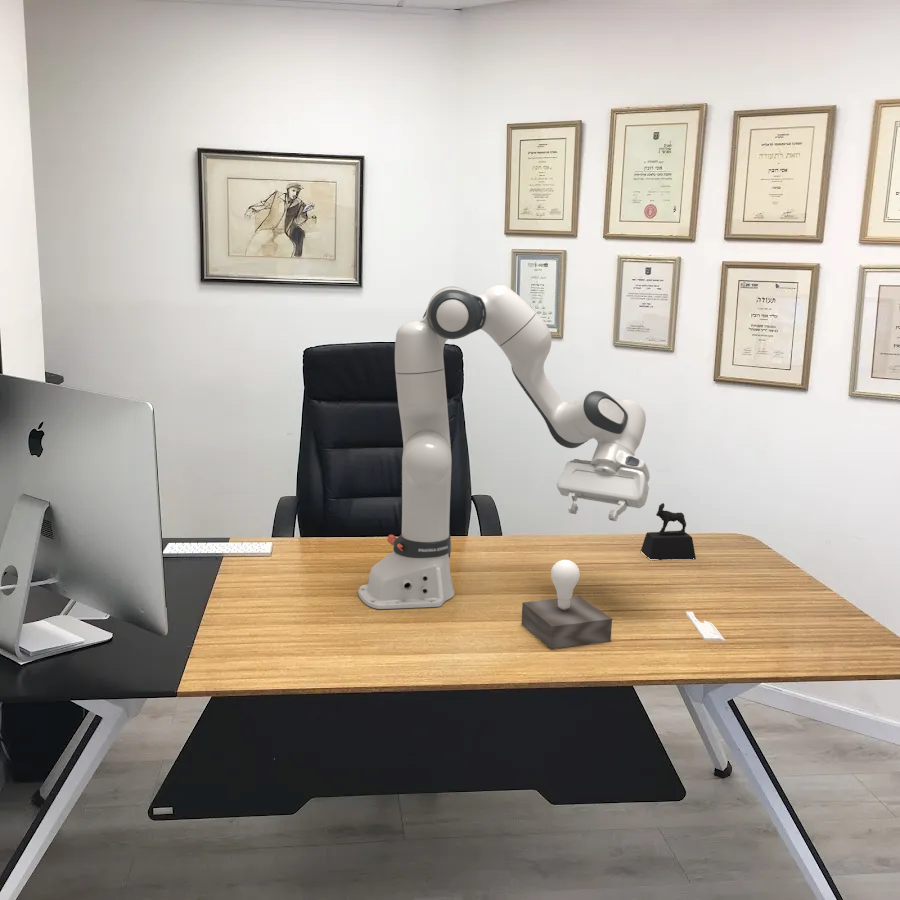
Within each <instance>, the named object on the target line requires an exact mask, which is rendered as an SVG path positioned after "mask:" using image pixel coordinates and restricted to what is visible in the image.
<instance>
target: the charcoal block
mask: <svg viewBox="0 0 900 900" xmlns="http://www.w3.org/2000/svg"><path fill="white" fill-rule="evenodd" d="M612 625H613V617H611V616H609V615H608V614H606V613H605V612H603V611H602V610H601V609H599V608H598V607H596V606H595V605H593V604H592V603H591V602H589V601H588V600H586V599H585V598H584V597H582V596H581V595H572V598H571V599H570V607H569V608H568V609H566V610H562V609H561V608H559V607H558V598H557V597H556V598H549V599H540V600H532V601H522V606H521V626H523V627H524V628H525V629H527V631H529V632H530V633H531V634H532V635H533V636H535V637H536V638H537V639H538V640H539V639H540V640H541V641H540V640H539V641H540V642H542V644H544V645H545V644H546V645H547V646H548V648H549V650H556V649H555V648H558V649H564V648H563V647H566V648H571V646H573V647H579V645H580V646H585V645H592V644H593V643H594V644H600V643H608V642H611V641H612V627H613V626H612ZM546 645H545V646H546ZM547 646H546V647H547Z"/></svg>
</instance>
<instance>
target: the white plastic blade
mask: <svg viewBox="0 0 900 900" xmlns="http://www.w3.org/2000/svg"><path fill="white" fill-rule="evenodd" d="M685 615H686V616H687V618H688V620H689V621H690V622H691V623H692V625H693V626H694V628H695V629H696V631H697V632H698V633H699V635H700V636H701V638H702V639H703V640H704V641H709V642H711V641H712V642H713V641H716V642H718V641H720V642H721V641H722V642H724V641H726V639H725V638H724V636H723V635H722V634H721V633H720V631H719V629H717V627H716V626H715V625H714V624H713V622H710V621H708V620H707V621H706V620H703V622H701V621H700V620H699V619H698V618H696V615H695V613H694V612H693V611H685Z"/></svg>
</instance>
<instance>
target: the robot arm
mask: <svg viewBox="0 0 900 900" xmlns="http://www.w3.org/2000/svg"><path fill="white" fill-rule="evenodd" d="M479 330H481V331H484V332H485V333H486V334H487V335H488V336H489V337H490V338H492V340H493V341H494V342H495V343H496V344H497V346H499V348H500V349H501V351H502V352H503V354H504V355H505V356H506V357H507V359H508V361H509V363H510V365H511V367H510V368H511V372H512V373H513V376H514V377H515V380H516V381H517V382H518V384H519V385H520V387H521V388H522V389H523V391H524V393H525V394H526V396H527V397H528V398H529V400H530V401H531V402H532V405H533V406H534V407H535V408H536V410H537V411H538V412H539V414H540V415H541V417H542V418H543V420H544V422H545V424H546V426H547V428H548V430H549V433H550V435H551V437H552V438H553V439H554V441H555V442H556V443H557V444H559V445H560V446H562V447H564V448H567V449H575V448H579V447H580V446H582V445H584V444H585V443H587V442H588V441H590V440H593V439H594V440H595V441H597V444H596V449H595V450H594V453H593V455H592V459H591V460H585V459H584V460H583V459H577V458H574V459H572V460H570V461H567V462H566V464H565V465H564V468H563V471H562V473H561V474H560V476H559V478H558V480H557V482H556V487H557V490H558V492H559V494H560V495H561V496H564V497H568V501H569V506H568V513H569V514H573V515H576V514H577V513H578V511H579V506H578V504H577V503H575V502H577V501H578V499H581V500H582V499H583V500H588V501H594V502H600V503H607V504H610V505H611V504H612V505H617V507H616V508H615V509H614V510H613V509H610V511H609V513H608V519H609V521H613V522H617V521H618V517H619V516H620V515H622V514H623V513H624V512H626V510H627V508H628V507H629V508H630V507H631V508H634V509H641V508H643V507H644V506H645V505H646V503H647V499H648V495H649V489H650V486H649V483H648V482H649V480H650V472H649V468H648V466H647V464H646V462H645V461H644V459H641V458H639V457H636V456H635V452H636V451H637V449H638V448H639V446H640V445H641V441H642V439H643V436H644V432H645V428H646V421H647V419H646V412H645V410H644V408H643V407H642V406H641V405H640V404H639V403H638V402H636V401H634V400H632V399H628V398H624V399H617V398H614V397H612V396H610V395H609V394H608V393H606V392H604V391H600V390H593V391H590V392H587V394H584V395H583V396H580V397H579V398H577V399H576V400H574V401H571V402H567V401H565V400H564V399H562V398H561V396H560V395H559V393H558V392H557V391H556V389H555V388H554V386H553V385H552V383H551V381H550V380H549V379H548V377H547V376H546V373H545V370H544V369H545V368H544V366H545V363H546V360H547V357H548V356H549V354H550V351H551V346H552V333H551V331H550V329H549V327H548V325H547V323H545V321H544V319H542V318H541V317H540V315H539V314H538V313H537V312H536V311H535V310H534V309H533V308H532V307H531V305H529V304H528V302H526V301H525V300H524V299H523V298H522V297H521V296H520V295H519V294H517V293H516V292H515V291H514V290H512V288H510V287H508V286H507V285H504V284H496V285H492V286H490V287H488V288H486V289H485V290H484V291H482V292H481V293H480V294H478V295H475V294H471V293H469V291H467V290H466V289H463V288H461V287H459V286H447V287H446V286H445V287H443V288H440V289H439V290H437V291H436V292H435V293H434V294H433V295H432V296H431V297H430V299H429V302H428V304H427V308H426V309H425V312H424V314H423V316H422V318H420V319H416V320H411V321H408V322H407V321H406V322H405V323H403V324H402V325H401V326H399V328H398V329H397V331H396V335H395V340H394V370H395V382H396V392H397V404H398V406H397V407H398V411H399V418H400V427H401V435H402V442H403V443H402V444H403V445H402V446H403V448H402V457H401V458H402V459H401V483H402V484H401V498H402V499H401V501H402V502H401V506H402V507H401V534H400V535H399V536H398V537H396V535H394V534H389V535H388V536H387V538H386V539H387V540H386V541H387V542H388V544H390V545H391V546H393V550H392V551H391V552H390V553H389V554H388V555H386V556H385V557H384V558H382V559H381V560H379V561H378V562H377V563H376V564H374V565H372V567H371V569H370V572H369V575H368V579H367V584H362V585H360V587H358V597H359V598H360V600H361V601H362V602H363V603H364V604H365V605H367V606H368V607H371V608H373V609H377V610H386V609H387V610H388V609H393V610H394V609H414V608H415V609H417V608H435V607H436V608H439V607H442V606H443V605H444V603H445V602H446V601H448V600H450V599H452V598H453V597H454V596H455V590H454V587H453V581H452V577H451V576H452V575H451V568H450V559H451V552H452V539H451V537H452V536H451V534H450V515H451V513H450V512H451V511H450V510H451V509H450V508H451V490H452V489H451V486H452V484H451V483H452V482H451V481H452V465H453V464H452V461H453V460H452V448H451V447H452V445H451V436H450V424H449V423H450V422H449V420H450V419H449V411H448V410H449V409H448V397H447V386H446V373H445V372H446V371H445V361H444V347H445V344H446V343H447V341H448V340H457V339H461V338H465V337H466V336H469V335H470V334H472V333H475V332H477V331H479Z"/></svg>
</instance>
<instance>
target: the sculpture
mask: <svg viewBox="0 0 900 900" xmlns="http://www.w3.org/2000/svg"><path fill="white" fill-rule="evenodd" d="M664 508H665V503H663V502H662V503H661V504H659V505H658V509H657V512H656V516H657V517H659V518H660V519H661V521H663V523H662V527H661V530H659V531H653V532H651V531H650V532H649V531H648V532H646V533H645V536H644V540H643V543H642V546H641V549H640V552H641V551H642V552H643V553H644V554H645V555H646V556H647V557H649V558H650V559H692V560H696V552H695V545H694V540H693V537H692V536H691V535H690V534H689V533H687V532H686V527H687V522H686V518H685V513H683V512H672V511H670V510H664ZM669 522H672V523H674V522H678V523H679V524H680V525H682V528H681V530H667V531H666V528H667V526H668V524H669ZM647 557H646V558H647ZM693 558H694V559H693Z"/></svg>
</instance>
